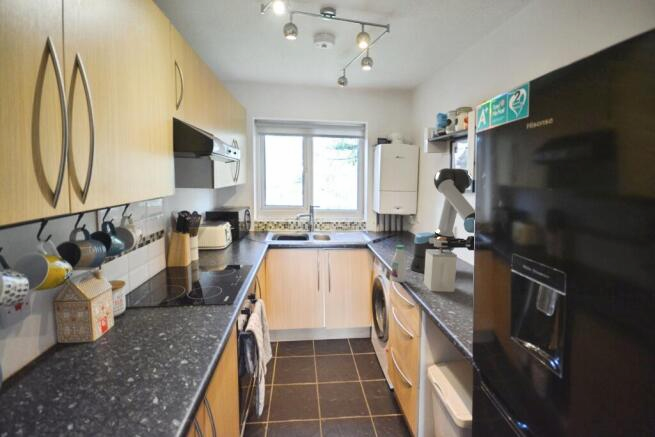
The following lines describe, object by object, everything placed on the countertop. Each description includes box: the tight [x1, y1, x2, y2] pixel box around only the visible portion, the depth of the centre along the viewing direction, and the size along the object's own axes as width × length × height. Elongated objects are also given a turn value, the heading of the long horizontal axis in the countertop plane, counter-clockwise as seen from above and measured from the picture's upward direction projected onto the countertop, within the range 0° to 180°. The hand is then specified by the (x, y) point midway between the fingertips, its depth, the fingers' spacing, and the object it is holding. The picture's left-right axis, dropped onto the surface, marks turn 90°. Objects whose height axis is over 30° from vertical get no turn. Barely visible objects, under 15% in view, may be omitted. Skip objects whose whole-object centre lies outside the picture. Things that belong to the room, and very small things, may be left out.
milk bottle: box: [391, 244, 407, 283], centre depth 179 cm, size 8×8×20 cm
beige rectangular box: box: [423, 249, 458, 293], centre depth 167 cm, size 16×12×19 cm
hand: (432, 242), depth 167 cm, fingers open, 7 cm apart
